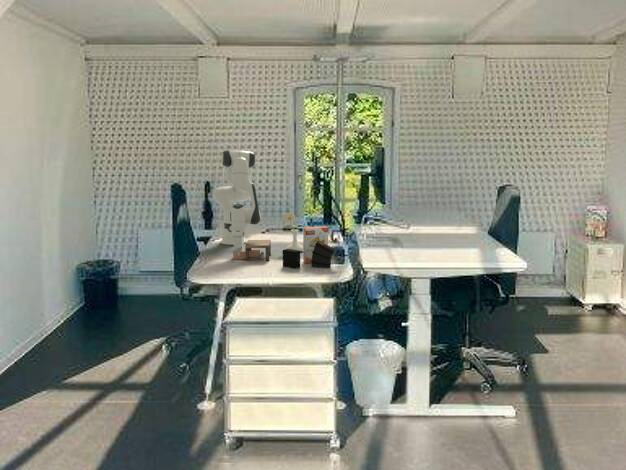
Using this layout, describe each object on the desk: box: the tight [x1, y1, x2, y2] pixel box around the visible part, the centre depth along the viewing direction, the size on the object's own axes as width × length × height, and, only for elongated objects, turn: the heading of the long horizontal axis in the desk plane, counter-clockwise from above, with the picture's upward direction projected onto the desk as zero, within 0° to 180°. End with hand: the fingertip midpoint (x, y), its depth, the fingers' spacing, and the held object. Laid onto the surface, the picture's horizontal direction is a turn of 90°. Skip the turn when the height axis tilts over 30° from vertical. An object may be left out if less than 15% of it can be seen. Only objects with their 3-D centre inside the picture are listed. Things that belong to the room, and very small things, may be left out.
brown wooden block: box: [232, 249, 261, 260], centre depth 417 cm, size 6×16×4 cm, turn 90°
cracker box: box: [302, 225, 329, 264], centre depth 403 cm, size 14×6×21 cm, turn 105°
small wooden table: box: [244, 239, 272, 262], centre depth 416 cm, size 19×14×10 cm
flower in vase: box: [282, 212, 303, 252], centre depth 434 cm, size 13×11×25 cm
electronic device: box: [282, 248, 301, 270], centre depth 391 cm, size 4×10×10 cm, turn 49°
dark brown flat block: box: [310, 241, 336, 269], centre depth 390 cm, size 4×13×15 cm, turn 75°
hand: (239, 253), depth 417 cm, fingers open, 7 cm apart
